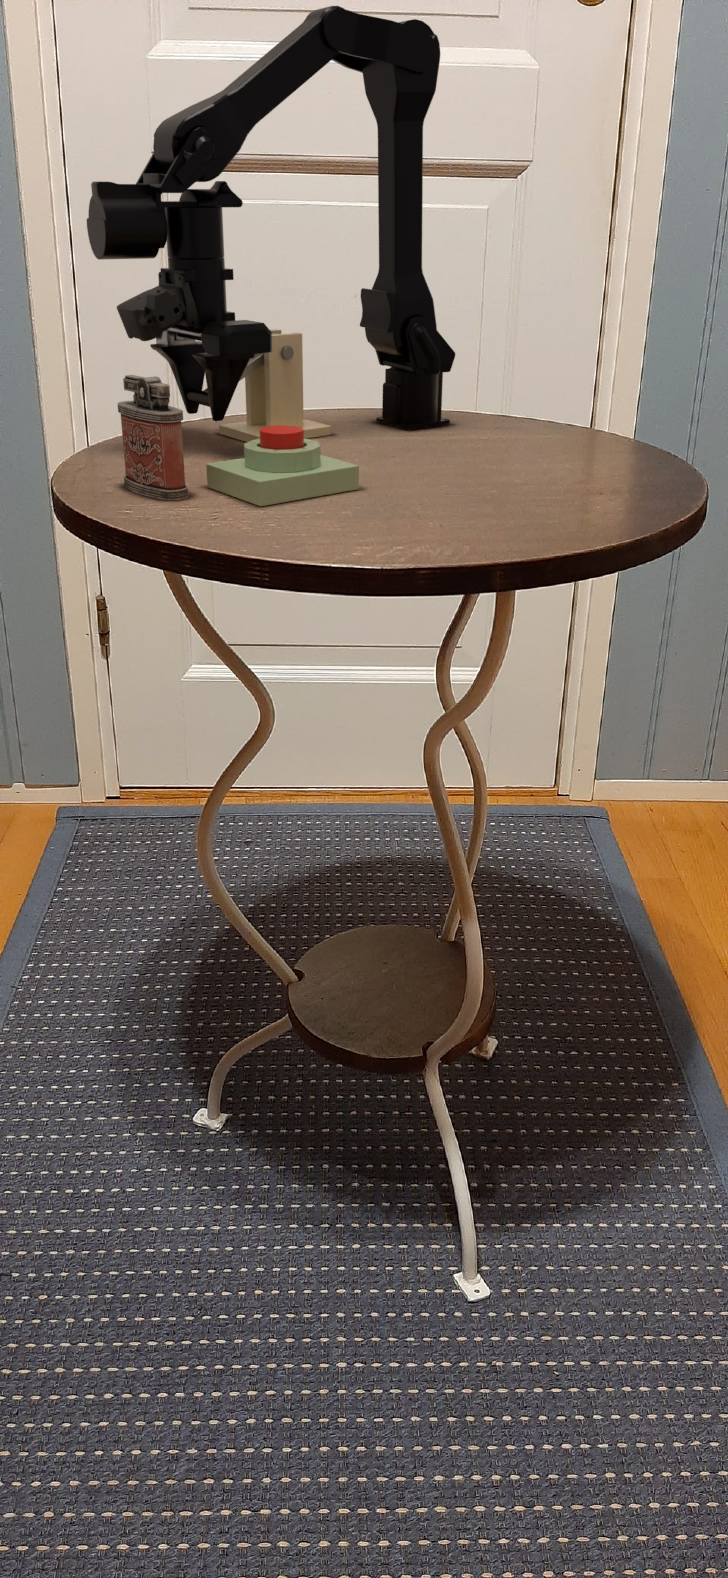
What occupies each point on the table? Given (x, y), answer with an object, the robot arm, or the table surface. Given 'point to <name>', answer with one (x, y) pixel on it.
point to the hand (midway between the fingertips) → (204, 416)
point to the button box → (281, 474)
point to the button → (281, 437)
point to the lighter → (152, 440)
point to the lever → (252, 365)
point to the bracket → (276, 393)
